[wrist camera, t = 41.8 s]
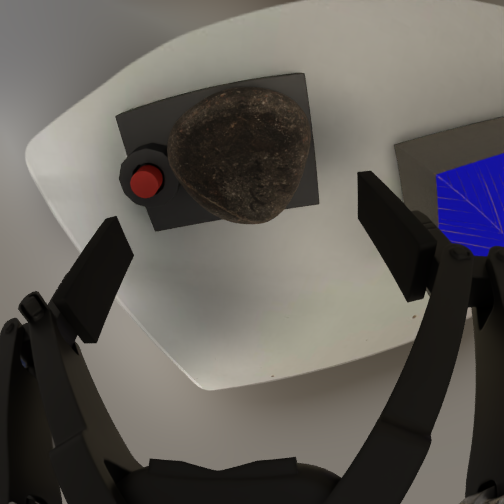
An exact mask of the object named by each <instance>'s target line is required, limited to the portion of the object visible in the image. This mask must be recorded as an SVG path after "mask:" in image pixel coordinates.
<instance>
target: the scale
mask: <svg viewBox="0 0 504 504" xmlns="http://www.w3.org/2000/svg"><path fill="white" fill-rule="evenodd" d="M236 87H258V88H265V89H270V90H273V91H276V92H279V93H282V94H284V95H286V96H288V97H289V98H291V99H292V100H293V101H295V102H296V103H297V104H298V105H299V106H300V107H301V109H302V110H303V111H304V113H305V115H306V117H307V119H308V122H309V125H310V130H311V141H310V149H309V154H308V158H307V161H306V165H305V168H304V172H303V175H302V178H301V181H300V183H299V186H298V188H297V190H296V192H295V193H294V195H293V197H292V199H291V201H290V202H289V204H288V205H287V206H286V208H285V209H289V208H296V207H303V206H309V205H316V204H319V193H318V181H317V170H316V160H315V150H314V141H313V132H312V124H311V116H310V108H309V101H308V94H307V87H306V80H305V74H304V73H294V74H285V75H277V76H270V77H263V78H256V79H250V80H244V81H238V82H233V83H228V84H223V85H218V86H214V87H209V88H205V89H200V90H196V91H192V92H188V93H184V94H181V95H177V96H173V97H170V98H166V99H163V100H160V101H156V102H153V103H150V104H147V105H144V106H141V107H138V108H135V109H132V110H129V111H126V112H123V113H121V114H119V115H117V116H115V117H116V120H117V124H118V127H119V130H120V134H121V137H122V140H123V143H124V146H125V149H126V153H127V156H128V157H127V158H126V159H125V160H124V162H123V163H122V164H121V169H120V176H119V180H120V183H121V186H122V189H123V191H124V193H125V195H126V196H128V197H129V198H130V199H131V200H132V201H133V202H134V203H135V204H138V205H141V206H145V207H146V209H147V212H148V215H149V217H150V220H151V223H152V225H153V228H154V230H155V232H156V231H161V230H167V229H172V228H177V227H183V226H188V225H193V224H199V223H204V222H210V221H216V220H221V218H219V217H217V216H215V215H213V214H212V213H210V212H208V211H207V210H206V209H204V208H203V207H202V206H201V205H199V204H198V203H197V202H196V201H195V200H194V199H193V198H192V197H191V196H190V195H189V194H188V192H187V191H186V190H185V189H184V187H183V186H182V185H181V183H180V182H179V181H178V179H177V178H176V176H175V175H174V173H173V171H172V169H171V167H170V164H169V160H168V154H167V145H168V138H169V135H170V132H171V130H172V128H173V126H174V124H175V123H176V122H177V120H178V119H179V118H180V117H181V116H182V115H183V114H184V113H185V112H186V111H188V110H189V109H190V108H192V107H193V106H194V105H196V104H197V103H199V102H200V101H201V100H203V99H205V98H206V97H208V96H210V95H212V94H214V93H217V92H219V91H222V90H226V89H229V88H236ZM144 165H153V166H155V167H157V168H158V169H159V170H160V171H161V173H162V176H163V181H162V184H161V186H160V187H159V189H158V191H157V192H156V194H155V195H154V196H152V197H150V198H141V197H139V196H137V195H136V194H135V193H134V192H133V191H132V189H131V184H130V182H131V178H132V176H133V175H134V174H135V173H136V172H137V171H138V170H139V168H141V167H142V166H144Z"/></svg>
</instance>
